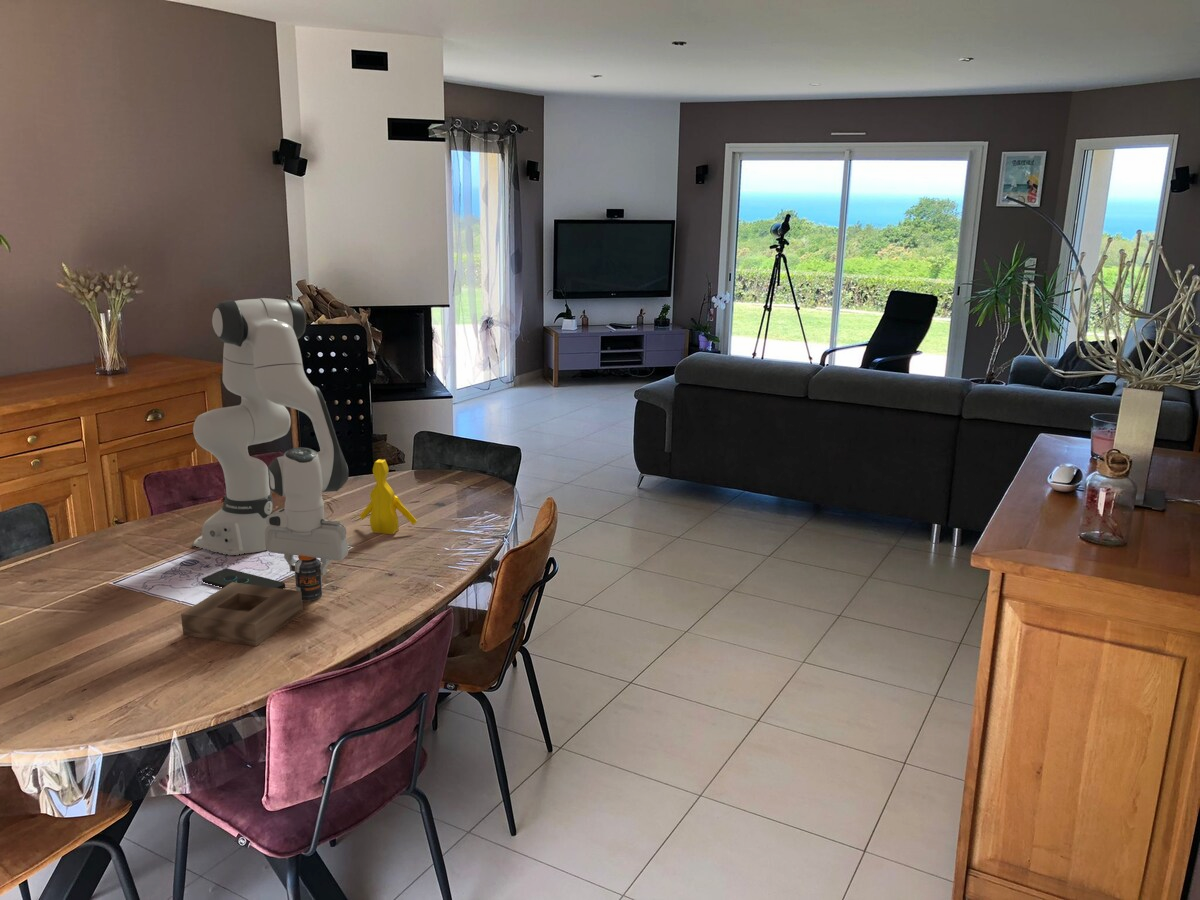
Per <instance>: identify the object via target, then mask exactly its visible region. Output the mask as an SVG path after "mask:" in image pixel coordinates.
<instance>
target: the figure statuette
mask: <svg viewBox="0 0 1200 900" xmlns="http://www.w3.org/2000/svg"><path fill="white" fill-rule="evenodd" d="M389 470H390V469H389V466H388V464H387V461H386V459H377V460H376V461H374V464H373V467H372V474H373V477H374V479H375V481H376V484H375V486H374V487H373V488H372V490H371V491H370V493H369V496H370V497H369V498H370V502H369V504H368V505H367V506H366V507H365V509H364V510H363V511H362V512H361V514H360V515H359V518H360V519H361V520H364V519H365V518H366V517H367V516H368V515H370V517H369V524H370V528H371V531H372V532H373V533H374V534H383V535H384V534H385V535H394V534H395V533H396V532H398V531H399V530H400V528H399V518H398V514H397V511H399V512H400V513H401V514H402V515H403V516H404V517H405V518H406V520H408V521H409V523H411V525H413V526H414V525H415V524H416V523H418V520H417V519H416V518H415V516H414V515H413V514H412V513H411V512H410V511H409V509H407V508H406V507H405V505H404V504H403V503H402V502H401V500H400V498H399V497H398V496H397V495H395V492H394V490H393V488H392V487H391V486H390V485H389V483H388V481H387V477H388V474H389Z"/></svg>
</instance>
